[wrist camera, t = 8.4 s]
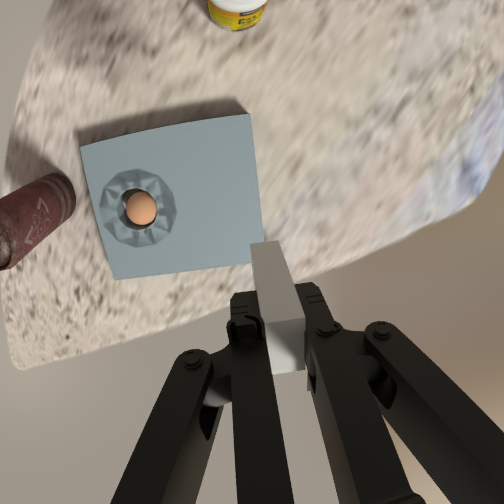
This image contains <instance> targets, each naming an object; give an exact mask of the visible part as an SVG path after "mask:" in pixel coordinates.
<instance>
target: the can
mask: <svg viewBox="0 0 504 504" xmlns="http://www.w3.org/2000/svg"><path fill="white" fill-rule="evenodd" d="M75 206H76V195H75V191H74V188H73V187H72V185H71V183H70V182H69V181H68V180H67V179H66V178H65V177H64V176H62V175H59V174H49V175H46V176H44V177H42V178H40V179H38V180H36V181H34V182H32V183H30V184H27V185H25V186H24V187H22V188H20V189H18V190H16V191H14V192H12V193H10V194H8V195H6V196H4V197H2V198H1V199H0V271H1V270H7V269H11V268H12V267H13V266H15V265H16V264H17V263H18V262H19V261H20V260H21V259H22V258H23V257H24V256H25V255H27V254H28V253H29V252H30V251H31V250H32V249H33V248H34V247H35V246H37V245H38V244H39V243H40V242H41V241H42V240H43V239H44V238H46V237H47V236H48V235H49V234H50V233H51V232H53V231H54V230H55V229H56V228H57V227H59V226H60V225H61V224H62V223H63V222H65V221H66V220H67V219H68V218H70V216H71V215H72V213H73V212H74V209H75Z"/></svg>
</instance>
